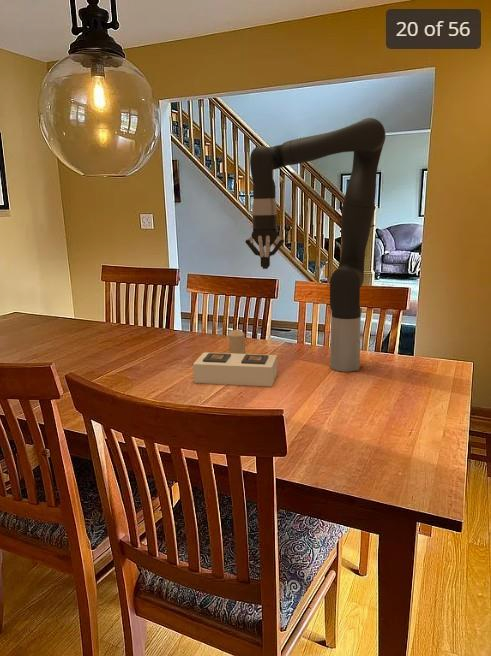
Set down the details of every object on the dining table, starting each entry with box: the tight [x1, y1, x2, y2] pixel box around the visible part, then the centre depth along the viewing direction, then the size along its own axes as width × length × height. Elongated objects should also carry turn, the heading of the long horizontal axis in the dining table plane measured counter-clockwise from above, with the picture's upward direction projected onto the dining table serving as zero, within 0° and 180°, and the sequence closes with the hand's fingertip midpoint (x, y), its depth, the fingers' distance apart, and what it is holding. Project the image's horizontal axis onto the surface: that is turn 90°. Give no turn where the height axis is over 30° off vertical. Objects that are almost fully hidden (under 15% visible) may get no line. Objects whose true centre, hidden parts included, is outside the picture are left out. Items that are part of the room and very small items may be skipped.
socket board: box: [192, 352, 278, 387], centre depth 153 cm, size 24×12×7 cm, turn 79°
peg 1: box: [210, 355, 225, 359], centre depth 154 cm, size 4×4×7 cm
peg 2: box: [248, 356, 263, 361], centre depth 152 cm, size 4×4×7 cm
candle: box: [228, 329, 246, 354], centre depth 172 cm, size 6×6×10 cm
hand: (265, 268), depth 160 cm, fingers closed
